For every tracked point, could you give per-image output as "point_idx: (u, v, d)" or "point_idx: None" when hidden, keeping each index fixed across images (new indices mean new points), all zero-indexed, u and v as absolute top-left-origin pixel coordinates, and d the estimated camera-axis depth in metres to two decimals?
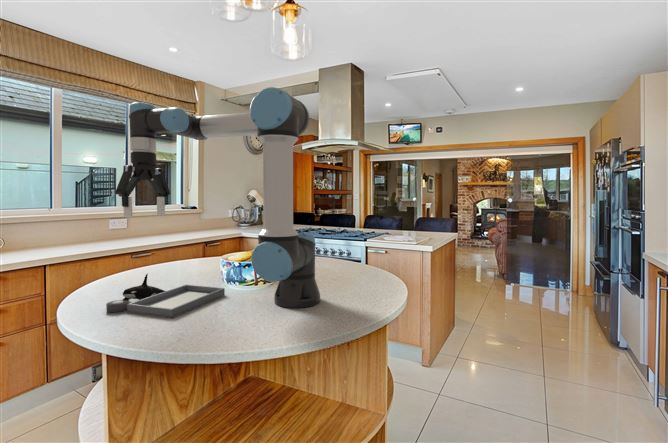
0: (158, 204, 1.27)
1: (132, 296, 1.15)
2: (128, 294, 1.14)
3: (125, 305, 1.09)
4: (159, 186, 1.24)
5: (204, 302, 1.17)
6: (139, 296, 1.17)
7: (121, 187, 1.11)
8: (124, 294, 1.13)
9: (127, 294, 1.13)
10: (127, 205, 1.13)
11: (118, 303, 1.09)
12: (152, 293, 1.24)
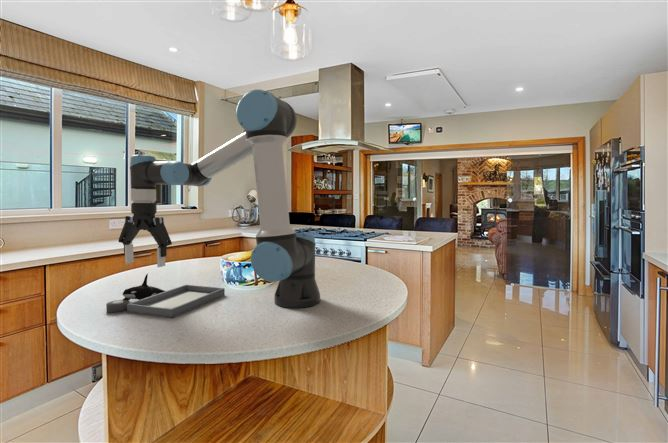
0: None
1: (132, 296, 1.15)
2: (128, 294, 1.13)
3: (125, 305, 1.09)
4: (154, 236, 1.19)
5: (204, 302, 1.17)
6: (139, 296, 1.17)
7: None
8: (124, 294, 1.13)
9: (127, 294, 1.13)
10: None
11: (118, 303, 1.09)
12: (152, 293, 1.23)
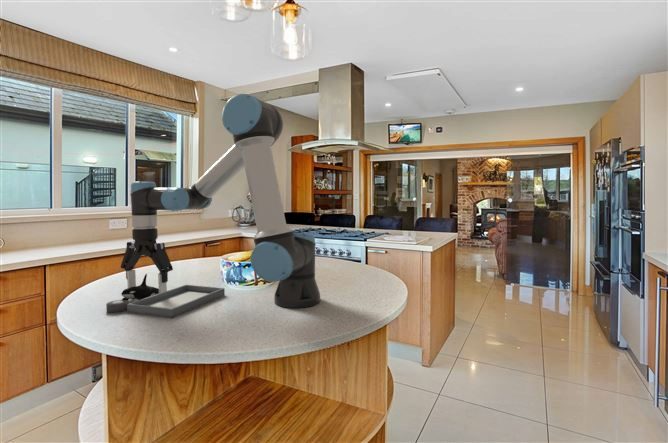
0: None
1: (131, 296, 1.15)
2: (127, 294, 1.13)
3: (125, 305, 1.09)
4: (155, 262, 1.19)
5: (204, 302, 1.17)
6: (138, 296, 1.17)
7: None
8: (123, 294, 1.13)
9: (126, 294, 1.13)
10: None
11: (118, 303, 1.09)
12: (151, 293, 1.23)
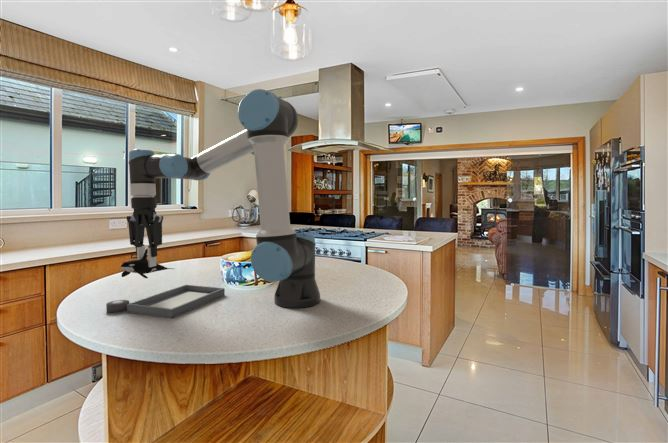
0: None
1: (130, 269, 1.14)
2: (126, 267, 1.13)
3: (125, 305, 1.09)
4: (148, 234, 1.20)
5: (204, 302, 1.17)
6: (138, 270, 1.16)
7: None
8: (122, 267, 1.12)
9: (125, 267, 1.13)
10: None
11: (118, 303, 1.09)
12: (152, 268, 1.23)
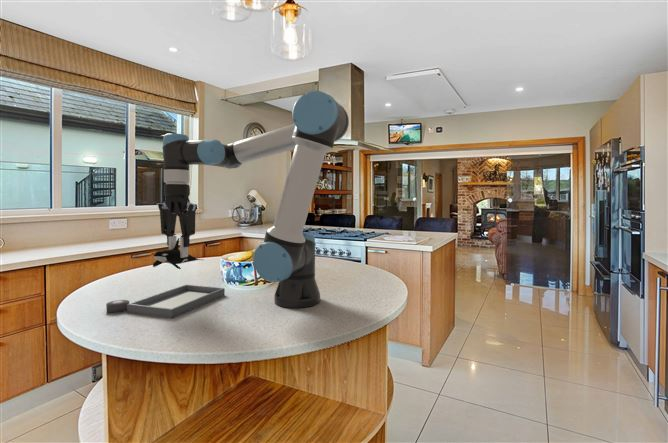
0: None
1: (163, 259, 1.08)
2: (159, 256, 1.07)
3: (125, 305, 1.09)
4: (181, 223, 1.14)
5: (204, 302, 1.17)
6: (171, 260, 1.11)
7: None
8: (155, 256, 1.07)
9: (158, 256, 1.07)
10: (169, 244, 1.17)
11: (118, 303, 1.09)
12: (184, 258, 1.17)
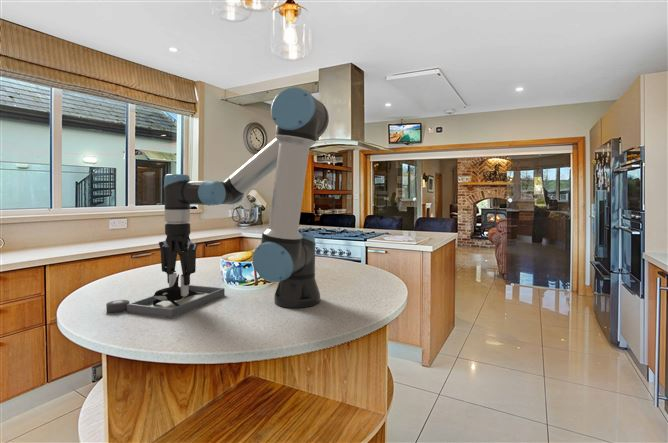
0: None
1: (163, 298, 1.09)
2: (159, 296, 1.08)
3: (125, 305, 1.09)
4: (181, 262, 1.15)
5: (204, 302, 1.17)
6: (171, 298, 1.11)
7: None
8: (155, 296, 1.07)
9: (158, 296, 1.08)
10: None
11: (118, 303, 1.09)
12: None
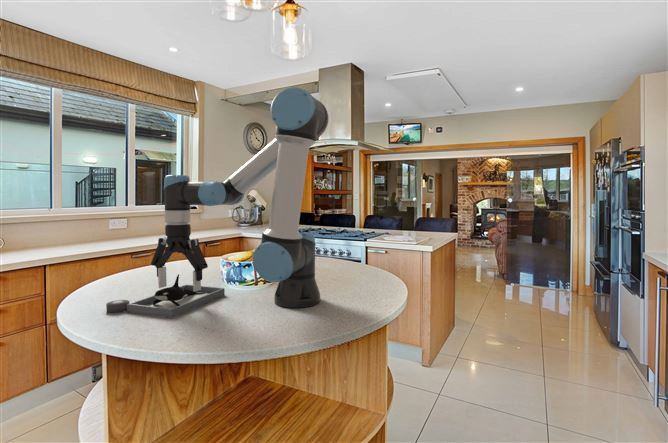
0: None
1: (164, 298, 1.09)
2: (160, 296, 1.08)
3: (125, 305, 1.09)
4: (189, 259, 1.14)
5: (204, 302, 1.17)
6: (171, 298, 1.11)
7: None
8: (156, 296, 1.07)
9: (159, 296, 1.08)
10: None
11: (118, 303, 1.09)
12: (184, 295, 1.18)
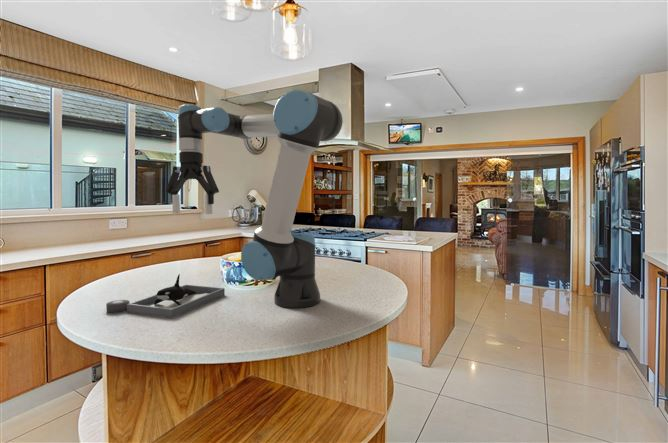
0: None
1: (166, 297, 1.10)
2: (162, 295, 1.08)
3: (125, 305, 1.09)
4: (202, 184, 1.23)
5: (204, 302, 1.17)
6: (173, 297, 1.12)
7: None
8: (158, 295, 1.08)
9: (161, 295, 1.08)
10: None
11: (118, 303, 1.09)
12: (184, 294, 1.18)
